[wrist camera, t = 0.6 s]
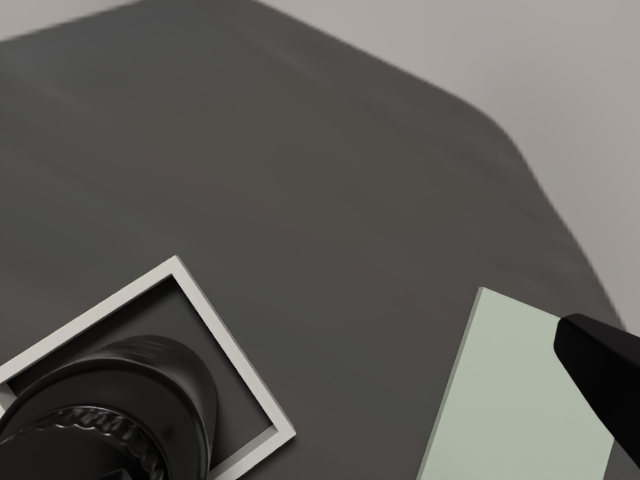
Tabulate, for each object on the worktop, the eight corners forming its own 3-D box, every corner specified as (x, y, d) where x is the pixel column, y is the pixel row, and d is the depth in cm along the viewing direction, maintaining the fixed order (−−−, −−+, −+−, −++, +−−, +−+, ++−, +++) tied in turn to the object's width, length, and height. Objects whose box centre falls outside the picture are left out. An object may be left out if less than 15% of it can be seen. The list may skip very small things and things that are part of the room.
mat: (567, 578, 26) (573, 583, 26) (401, 523, 25) (404, 529, 25) (631, 348, 28) (638, 350, 28) (479, 287, 27) (483, 287, 26)
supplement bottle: (231, 453, 24) (226, 624, 12) (86, 494, 23) (-76, 729, 11) (203, 316, 24) (170, 354, 12) (58, 350, 23) (-131, 427, 11)
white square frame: (292, 424, 25) (296, 434, 23) (112, 559, 23) (103, 579, 21) (179, 256, 24) (175, 255, 23) (-14, 379, 22) (-32, 386, 21)
